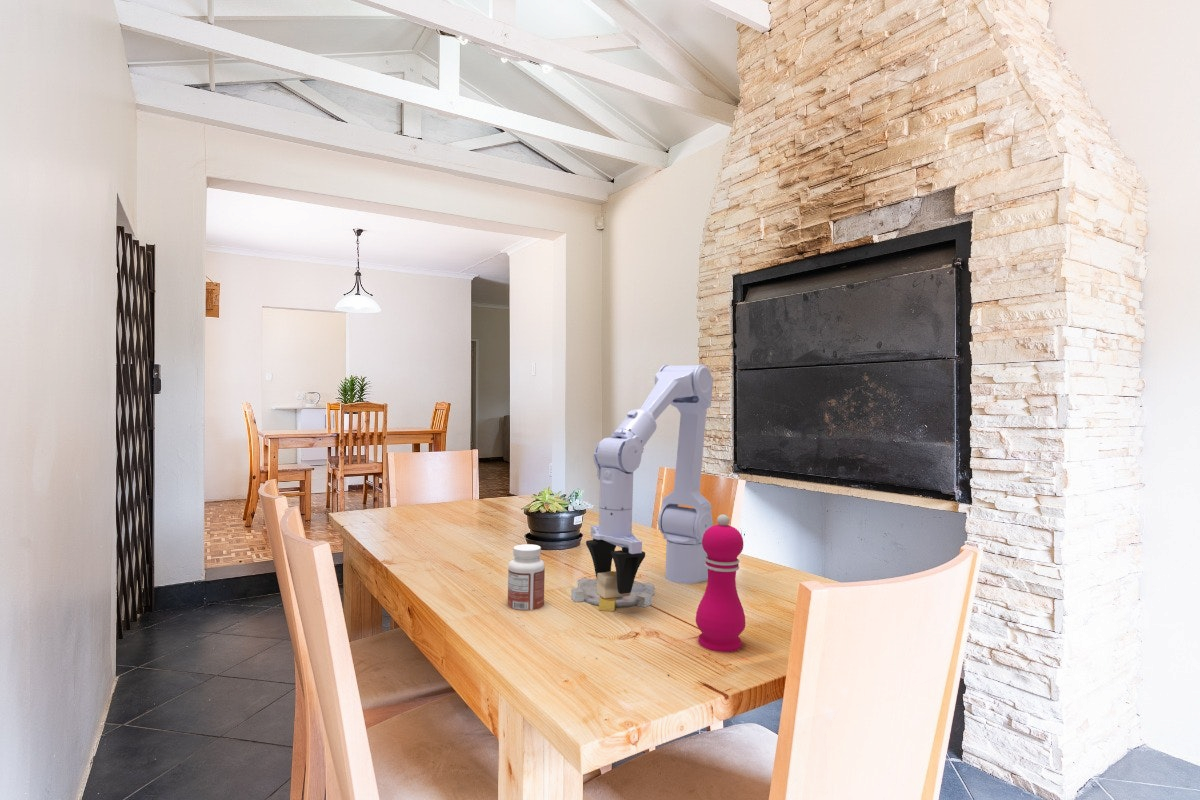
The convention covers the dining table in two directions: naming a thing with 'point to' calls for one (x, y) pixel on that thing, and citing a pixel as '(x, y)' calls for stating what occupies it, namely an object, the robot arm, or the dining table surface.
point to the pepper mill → (721, 589)
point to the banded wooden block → (608, 585)
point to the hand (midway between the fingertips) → (613, 586)
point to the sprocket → (638, 596)
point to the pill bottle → (526, 578)
